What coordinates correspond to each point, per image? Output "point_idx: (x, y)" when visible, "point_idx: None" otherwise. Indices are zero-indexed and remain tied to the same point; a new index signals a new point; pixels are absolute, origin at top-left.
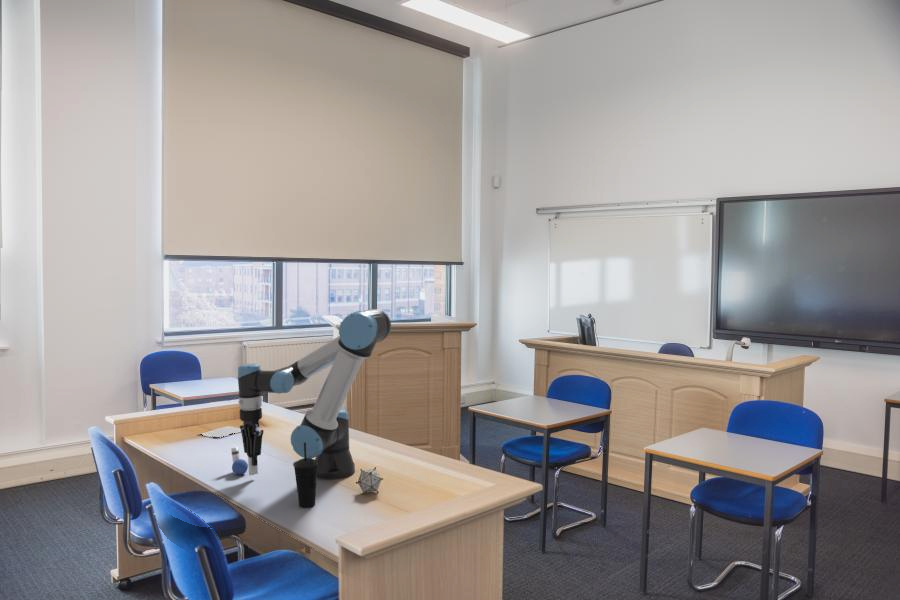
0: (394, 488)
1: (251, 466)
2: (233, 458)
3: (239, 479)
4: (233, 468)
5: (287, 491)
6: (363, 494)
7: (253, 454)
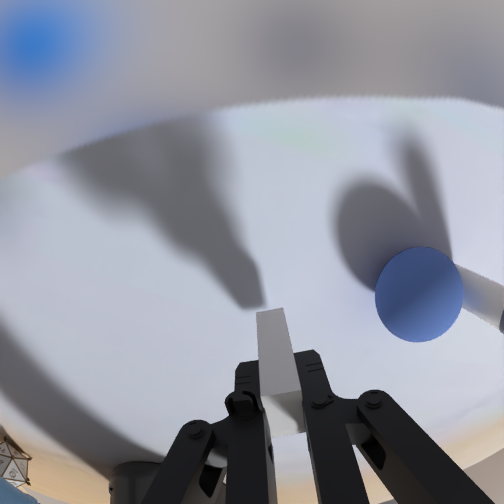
0: (34, 474)
1: (260, 351)
2: (493, 288)
3: (326, 250)
4: (416, 253)
5: (43, 358)
6: (5, 437)
7: (189, 433)
